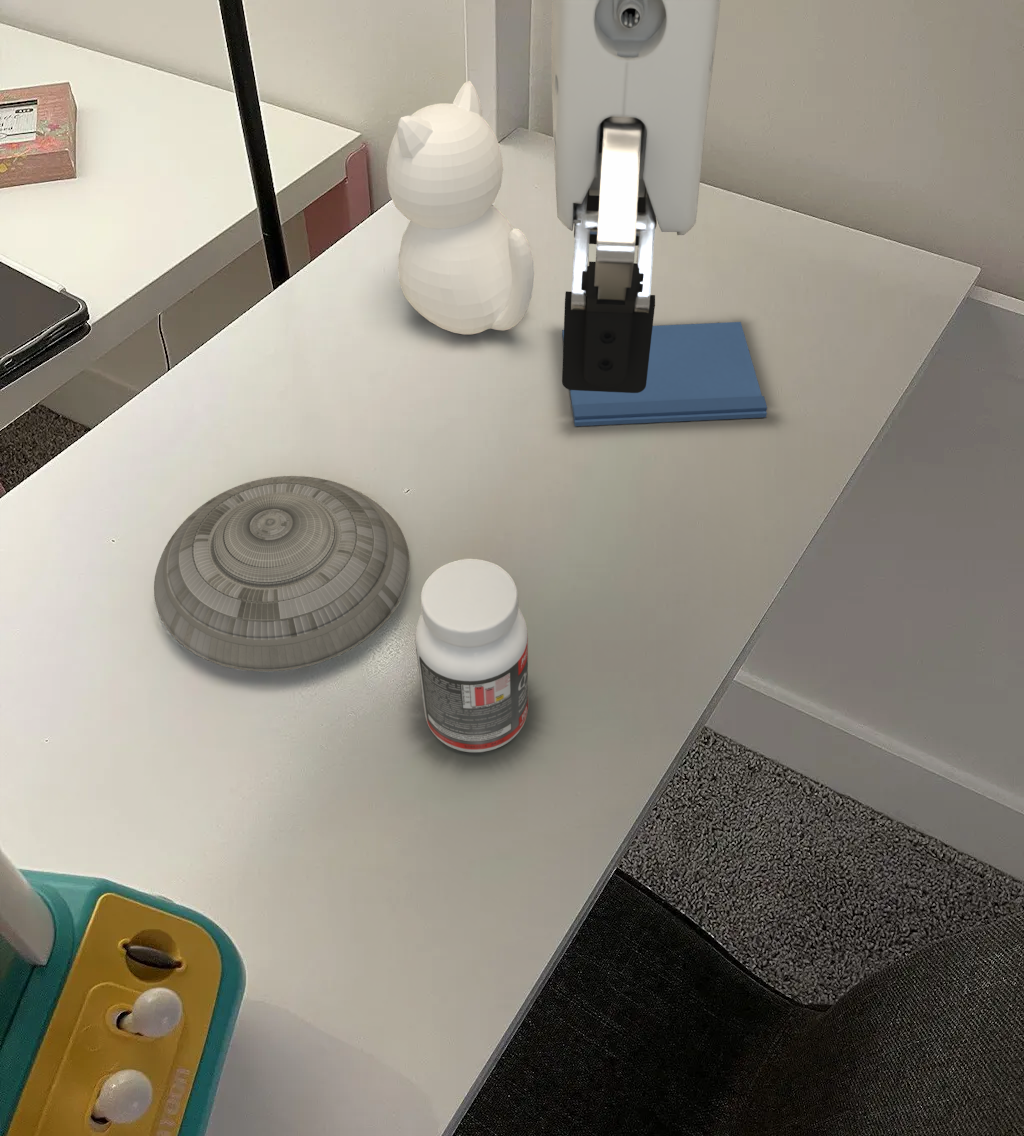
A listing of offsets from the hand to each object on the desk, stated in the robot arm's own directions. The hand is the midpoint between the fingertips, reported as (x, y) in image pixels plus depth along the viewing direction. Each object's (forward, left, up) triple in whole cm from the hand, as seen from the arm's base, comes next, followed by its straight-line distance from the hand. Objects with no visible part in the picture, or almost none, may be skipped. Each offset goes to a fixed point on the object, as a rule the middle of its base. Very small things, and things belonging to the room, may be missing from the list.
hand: (607, 309), depth 46 cm
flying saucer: (+17, -6, -23) cm, 29 cm away
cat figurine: (+5, -32, -23) cm, 40 cm away
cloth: (-8, -24, -23) cm, 34 cm away
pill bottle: (+6, +4, -23) cm, 24 cm away
